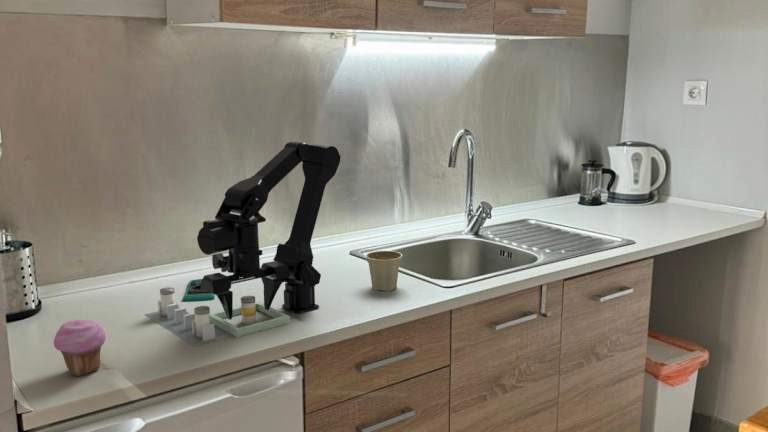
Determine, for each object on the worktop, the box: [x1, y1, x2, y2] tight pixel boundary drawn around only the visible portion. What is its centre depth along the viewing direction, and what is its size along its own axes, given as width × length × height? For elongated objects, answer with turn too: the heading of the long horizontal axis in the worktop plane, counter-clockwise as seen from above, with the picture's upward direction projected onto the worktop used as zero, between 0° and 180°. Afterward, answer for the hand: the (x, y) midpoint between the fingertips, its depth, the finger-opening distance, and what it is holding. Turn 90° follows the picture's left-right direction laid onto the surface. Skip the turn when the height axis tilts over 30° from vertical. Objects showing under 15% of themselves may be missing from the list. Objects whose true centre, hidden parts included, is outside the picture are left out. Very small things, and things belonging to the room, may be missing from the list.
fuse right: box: [193, 305, 211, 339], centre depth 150 cm, size 3×3×6 cm
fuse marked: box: [240, 295, 257, 325], centre depth 158 cm, size 3×3×6 cm
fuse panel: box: [144, 299, 231, 347], centre depth 157 cm, size 8×25×4 cm, turn 40°
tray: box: [210, 301, 291, 338], centre depth 159 cm, size 13×13×3 cm
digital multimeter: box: [182, 278, 216, 302], centre depth 180 cm, size 7×15×3 cm, turn 9°
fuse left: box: [159, 286, 176, 317], centre depth 162 cm, size 3×3×6 cm
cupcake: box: [53, 318, 107, 377], centre depth 136 cm, size 9×9×10 cm
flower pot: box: [365, 250, 403, 292], centre depth 185 cm, size 9×9×9 cm
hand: (248, 314), depth 158 cm, fingers open, 9 cm apart
